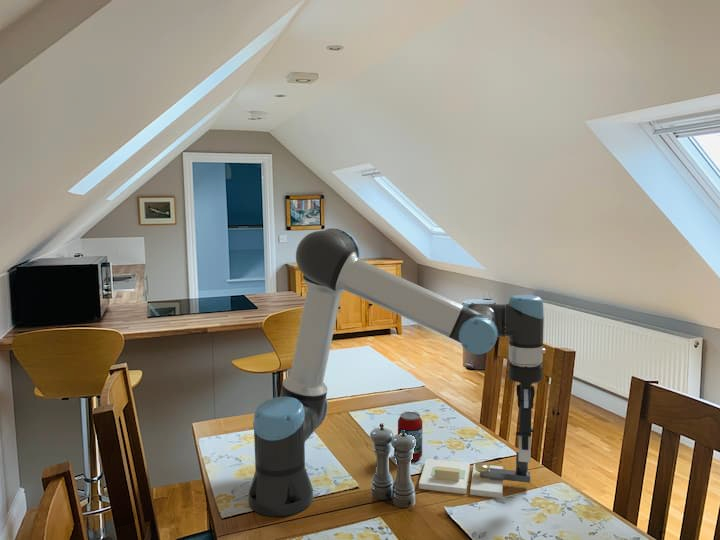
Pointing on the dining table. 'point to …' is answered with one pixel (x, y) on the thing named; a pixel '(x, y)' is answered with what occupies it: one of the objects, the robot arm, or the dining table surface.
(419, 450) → the beverage can
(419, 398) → the dining table surface
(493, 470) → the latch bar
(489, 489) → the block
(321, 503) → the dining table surface
